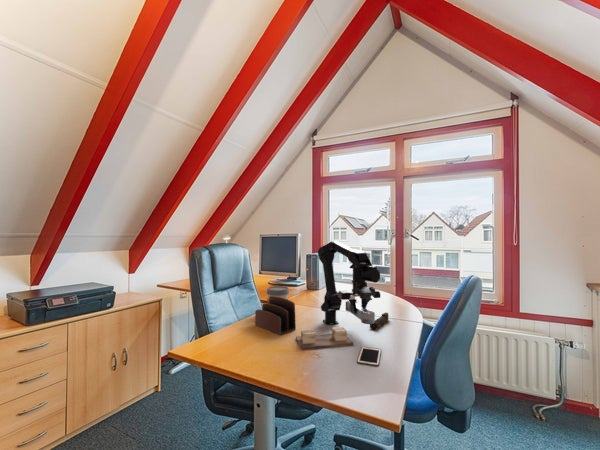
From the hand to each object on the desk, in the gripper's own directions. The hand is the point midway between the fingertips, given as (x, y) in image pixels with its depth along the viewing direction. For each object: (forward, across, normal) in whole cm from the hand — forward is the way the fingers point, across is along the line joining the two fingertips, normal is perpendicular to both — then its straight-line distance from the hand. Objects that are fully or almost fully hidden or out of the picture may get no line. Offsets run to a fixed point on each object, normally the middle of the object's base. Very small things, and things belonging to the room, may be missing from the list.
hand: (359, 313), depth 130 cm
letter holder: (+10, -36, +19) cm, 42 cm away
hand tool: (+11, +17, +12) cm, 23 cm away
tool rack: (+10, -18, -4) cm, 21 cm away
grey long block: (+1, 0, 0) cm, 1 cm away
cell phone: (+11, -5, -21) cm, 24 cm away
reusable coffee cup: (+10, -32, +39) cm, 52 cm away
